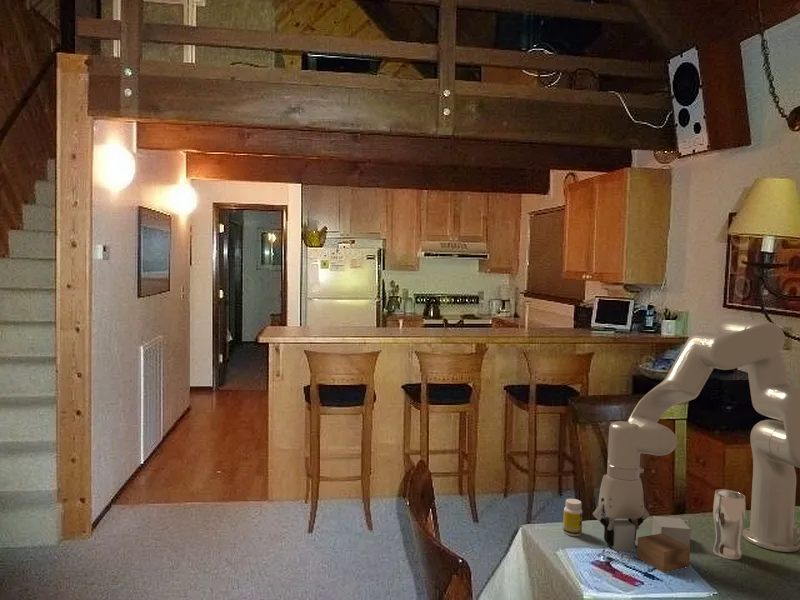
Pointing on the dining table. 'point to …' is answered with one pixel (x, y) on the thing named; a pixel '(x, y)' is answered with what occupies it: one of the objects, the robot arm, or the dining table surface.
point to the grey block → (672, 528)
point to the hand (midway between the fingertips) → (619, 542)
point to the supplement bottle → (572, 517)
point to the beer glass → (728, 523)
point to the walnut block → (663, 552)
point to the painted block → (623, 535)
